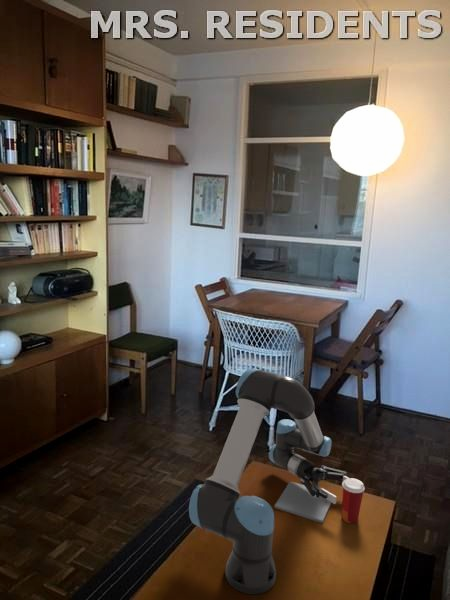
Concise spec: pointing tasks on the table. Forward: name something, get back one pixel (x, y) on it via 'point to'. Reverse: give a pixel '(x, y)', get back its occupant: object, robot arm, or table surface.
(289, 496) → the slate board
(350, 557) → the table surface
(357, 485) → the paper cup
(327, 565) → the table surface
